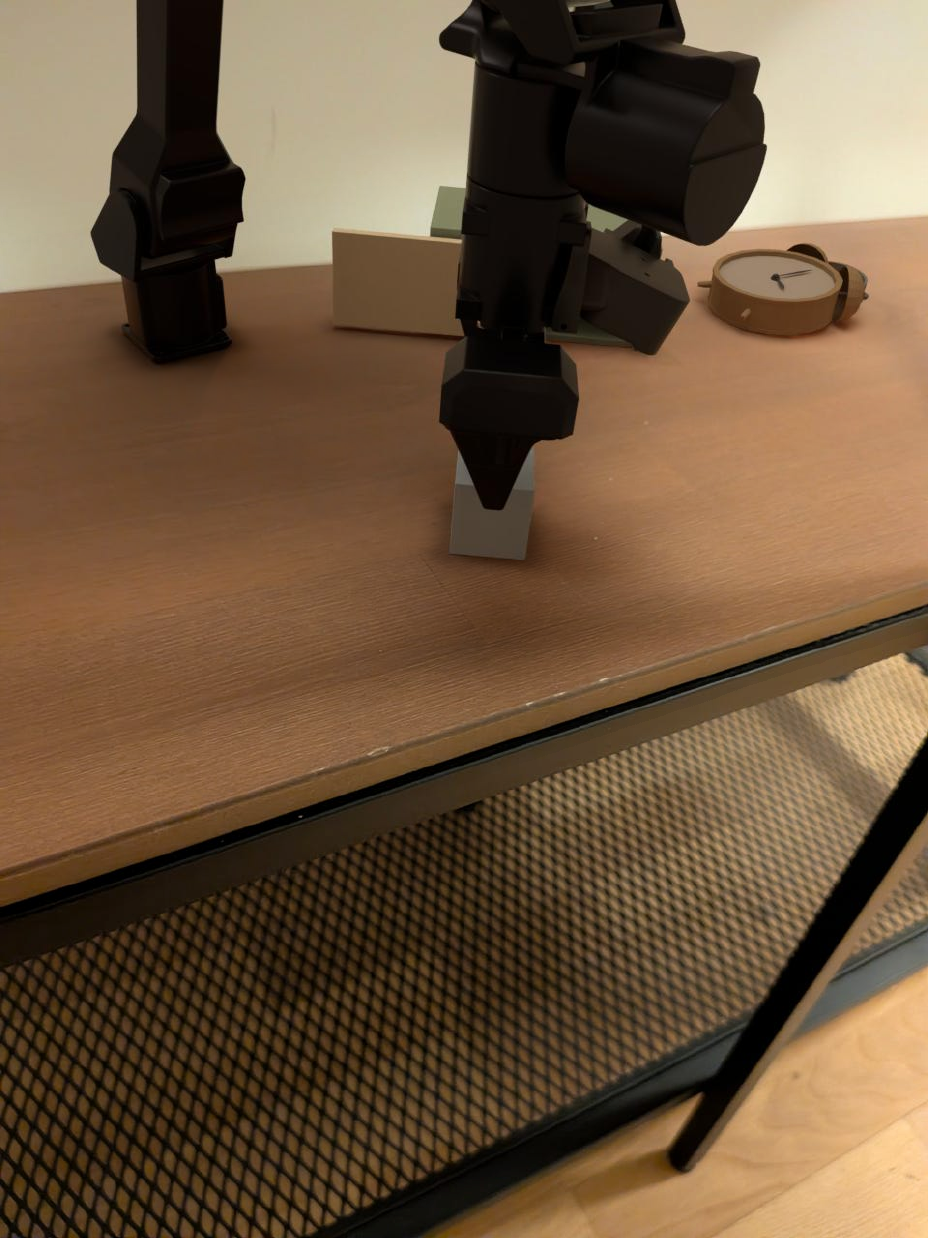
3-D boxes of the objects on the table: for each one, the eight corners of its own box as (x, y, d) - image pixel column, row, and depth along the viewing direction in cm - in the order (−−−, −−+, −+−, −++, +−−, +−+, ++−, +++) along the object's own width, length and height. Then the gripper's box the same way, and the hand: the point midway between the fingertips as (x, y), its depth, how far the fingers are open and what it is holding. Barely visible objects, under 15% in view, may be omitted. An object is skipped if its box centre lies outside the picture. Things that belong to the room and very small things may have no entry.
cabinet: (425, 331, 79) (430, 226, 73) (433, 283, 86) (439, 185, 81) (641, 351, 79) (663, 248, 74) (631, 301, 87) (650, 204, 81)
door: (323, 351, 74) (321, 254, 69) (334, 320, 78) (333, 226, 73) (539, 371, 74) (552, 275, 69) (538, 338, 79) (550, 246, 74)
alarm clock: (686, 259, 87) (826, 220, 90) (682, 310, 91) (817, 271, 94) (756, 311, 80) (907, 266, 83) (749, 363, 83) (894, 319, 86)
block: (524, 560, 57) (534, 490, 53) (449, 554, 57) (454, 483, 53) (524, 516, 60) (534, 448, 57) (453, 510, 60) (459, 441, 57)
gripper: (729, 271, 38) (649, 576, 48) (674, 137, 52) (622, 396, 62) (449, 244, 38) (429, 557, 48) (470, 118, 52) (451, 381, 62)
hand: (495, 462), depth 55 cm, fingers open, 9 cm apart
